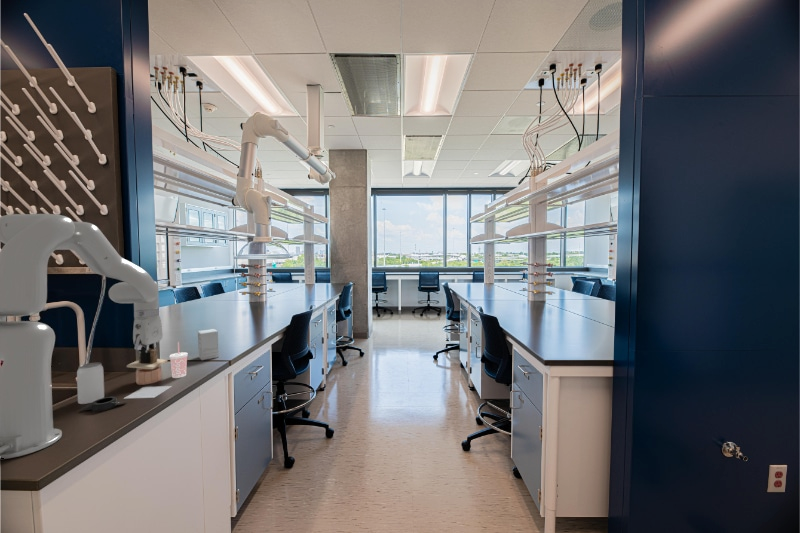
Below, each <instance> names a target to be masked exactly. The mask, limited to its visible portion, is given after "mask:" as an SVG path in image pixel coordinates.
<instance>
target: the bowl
mask: <svg viewBox="0 0 800 533" xmlns="http://www.w3.org/2000/svg"><path fill="white" fill-rule="evenodd" d="M161 379H162V365H160V366H158V367H156V368H154V369H143V368H137V369H136V370H135V382H136V384H137V385H139V386H141V385H142V386H144V385H151V384H155V383H157V382H159V381H161Z"/></svg>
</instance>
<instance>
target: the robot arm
mask: <svg viewBox="0 0 800 533" xmlns="http://www.w3.org/2000/svg"><path fill="white" fill-rule="evenodd" d="M103 233H104V232H102V230H101V229H99V227H98V226H97V225H95V224H93V223H91V222H87V221H73V220H72V219H71V218H70V217H68V216H66V215H61V214H56V213H54V214H53V213H29V214H27V213H25V214H24V213H12V214H6V215H2V216H0V242H1V243H3V244H4V245H3V247H2V248H1V250H0V361H3V363H2V364H1V366H0V456H1V457H2V458H4V459H3V460H7V459H14V458H17V457H22V456H26V455H29V454H33V453H35V452H37V451H41V450H42V449H46V448H47V447H49V446H52V445H53V444H55V443H57V441H58V440H60V439H62V436H63V431H62V429H60V428H54V419H53V418H54V415H53V413H54V412H53V395H52V394H53V392H52V391H53V388H52V367H51V366H52V356H53V351H54V348H55V344H56V343H55V342H56V334H55V331H54V329H53V328H51V326H49V325H48V324H46V323H43V322H39V321H30V320H26V321H25V320H19V321H18V320H17V321H16V320H15V321H13V320H12V321H11V320H10V321H7V317H26V316H32V315H35V314H39V313H40V312H42V311H43V309H45V307H46V303H47V300H48V263H49V258H50V257H51V255H52V254H53V252H55V251H56V250H57V251H58V250H59V251H60V250H62V251H65V250H67V251H70V250H71V251H74V252H75V254H76V255H77V256H78V257H79V259H81V260H82V261H83V262H84V264H85V265H86V266H87V267H88V269H89V270H90V271H92V272H93V273H95V274H97V275H100V276H103V277H106V278H111V279H114V280H117V281H120V282H118V283H115V284H113V285H112V286H111V287H110V288H109V290H108V298H109V299H110V300H111V301H113V302H114V303H118V304H133V317H134V320H133V330H132V340H133V345H134V348H133V349H134V350H137V351H138V352H139V353H138V354H139V356H140V357H141V363H150V352H149V348H152V349H157V345H158V343H159V342H160V341H161V340H163V335H164V334H163V328H162V327H163V326H162V324H163V323H162V319H161V315H160V305H159V304H160V303H159V302H160V300H159V283H158V281H155V280H154V279H153V277H152V276H151V275H150V273H149V272H147V271H146V270H145V269H143V268H142V267H141V266H139V265H137V264H135V263H133V262H132V261H130V260H128V259H125V258H124V257H122V256H121V255H120V254H119V253H118V251H117V250H116V249H115V248H114V246H113V245H112V243H111V242H110V241H109V240H108V239H107V237H106V236H105V234H103Z"/></svg>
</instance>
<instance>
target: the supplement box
mask: <svg viewBox="0 0 800 533" xmlns="http://www.w3.org/2000/svg"><path fill="white" fill-rule="evenodd" d="M197 343H198V344H197V345H198V348H197V350H198V352H197V354H198V358H199V359H200V360H201V361H204V360H211V359H216V358H219V331H218V330H217V329H215V328H211V329H204V330H203V329H202V330H197Z"/></svg>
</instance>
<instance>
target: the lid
mask: <svg viewBox="0 0 800 533" xmlns="http://www.w3.org/2000/svg"><path fill="white" fill-rule="evenodd" d="M149 352H150V363H141V357H140V355H139V358H138V360H135V361H134V362H133V361H132V362H131V363H128V364H127V365H126V368H131V369H132V368H133V369H140V368H143V369H154V368H156V367H158V366H162V365H163V364H166V363H168V361H169V360H168V359H165V358H163V359H162V358H158V352H159V349H158V348H156V349H152V348H149Z"/></svg>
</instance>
